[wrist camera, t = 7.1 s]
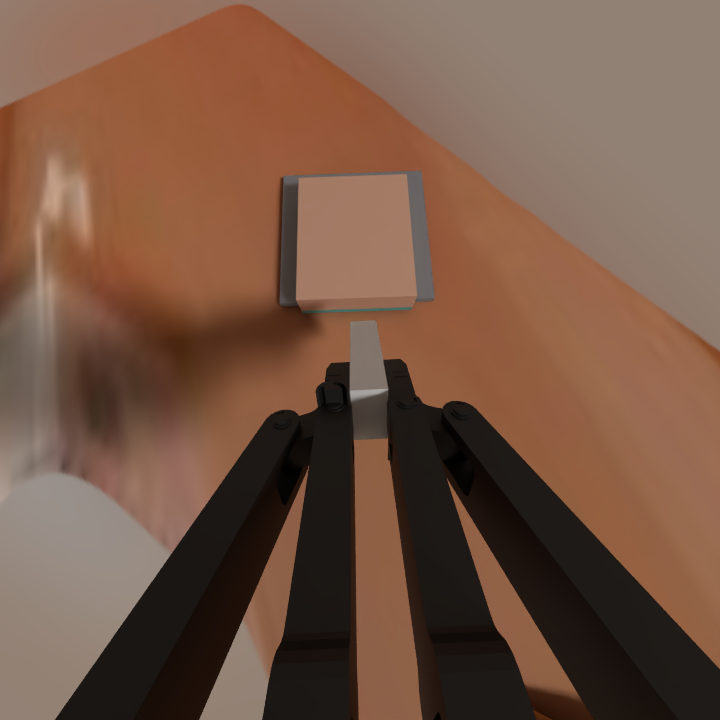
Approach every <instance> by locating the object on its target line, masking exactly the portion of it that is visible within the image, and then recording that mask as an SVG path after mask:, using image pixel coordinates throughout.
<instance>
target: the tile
mask: <svg viewBox="0 0 720 720" xmlns="http://www.w3.org/2000/svg"><path fill="white" fill-rule="evenodd" d="M416 298H417V288H416V276H415V265H414V253H413V241H412V229H411V218H410V206H409V194H408V182H407V174H395V175H366V176H337V177H308V178H299V186H298V232H297V278H296V301H297V303H298V305H299V307H300V308H301V310H302V312H303V313H323V312H353V311H383V310H411V309H412V307H413V305H414V302H415V300H416Z"/></svg>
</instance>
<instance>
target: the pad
mask: <svg viewBox="0 0 720 720" xmlns="http://www.w3.org/2000/svg"><path fill="white" fill-rule="evenodd" d="M395 174H407V182H408V194H409V206H410V218H411V229H412V241H413V253H414V265H415V276H416V288H417V298H416V300H415V302H421V301H433V300H434V298H435V297H434V287H433V278H432V268H431V259H430V249H429V239H428V230H427V220H426V211H425V201H424V191H423V182H422V172H421V171H401V172H375V173H348V174H321V175H294V176H284V181H283V212H282V243H281V274H280V305H281V307H285V306H299V305H298V303H297V301H296V278H297V232H298V186H299V178H308V177H337V176H366V175H395Z"/></svg>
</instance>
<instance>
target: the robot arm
mask: <svg viewBox="0 0 720 720" xmlns="http://www.w3.org/2000/svg"><path fill="white" fill-rule="evenodd" d="M316 397H317V403H318V408H317V409H316V410H314V411H312V412H310V413H307V414H304V415H301V416H298V414H297V413H296V412H295V411H291V410H281V411H277V412H275V413H273V414H271V415H270V416H269V417H268V418H267V419H266V420H265V422H264V423H263V424H262V426H261V427H260V429H259V430H258V432H257V433H256V434H255V436H254V437H253V439H252V440H251V442H250V443H249V444H248V446H247V447H246V449H245V450H244V452H243V453H242V454H241V456H240V457H239V459H238V460H237V461H236V463H235V464H234V466H233V467H232V469H231V470H230V471H229V473H228V474H227V476H226V477H225V479H224V480H223V481H222V483H221V484H220V486H219V487H218V489H217V490H216V491H215V493H214V494H213V496H212V497H211V499H210V500H209V501H208V503H207V504H206V506H205V507H204V508H203V510H202V511H201V513H200V514H199V516H198V517H197V518H196V520H195V521H194V523H193V524H192V526H191V527H190V528H189V530H188V531H187V533H186V534H185V536H184V537H183V538H182V540H181V541H180V543H179V544H178V545H177V547H176V548H175V550H174V551H173V553H172V554H171V555H170V557H169V558H168V560H167V561H166V563H165V564H164V565H163V567H162V568H161V570H160V571H159V573H158V574H157V575H156V577H155V578H154V580H153V581H152V582H151V584H150V585H149V587H148V588H147V590H146V591H145V592H144V594H143V595H142V597H141V598H140V600H139V601H138V603H137V604H136V605H135V607H134V608H133V610H132V611H131V613H130V614H129V615H128V617H127V618H126V619H125V621H124V622H123V624H122V625H121V627H120V628H119V629H118V631H117V632H116V634H115V635H114V637H113V638H112V639H111V641H110V642H109V644H108V645H107V647H106V648H105V649H104V651H103V652H102V654H101V655H100V657H99V658H98V659H97V661H96V662H95V664H94V665H93V666H92V668H91V669H90V671H89V672H88V674H87V675H86V676H85V678H84V679H83V681H82V682H81V684H80V685H79V687H78V688H77V689H76V691H75V692H74V694H73V695H72V696H71V698H70V699H69V701H68V702H67V703H66V705H65V706H64V708H63V709H62V711H61V712H60V714H59V715H58V716H57V718H56V719H55V720H199V719H200V716H201V714H202V712H203V709H204V707H205V705H206V703H207V700H208V698H209V696H210V693H211V691H212V689H213V686H214V684H215V682H216V679H217V677H218V675H219V673H220V670H221V668H222V666H223V663H224V661H225V659H226V656H227V654H228V652H229V649H230V647H231V645H232V642H233V640H234V638H235V635H236V633H237V631H238V629H239V626H240V624H241V622H242V619H243V617H244V615H245V613H246V610H247V608H248V606H249V603H250V601H251V599H252V596H253V594H254V592H255V590H256V587H257V585H258V583H259V580H260V578H261V576H262V573H263V571H264V569H265V566H266V564H267V562H268V560H269V557H270V555H271V553H272V550H273V548H274V546H275V543H276V541H277V539H278V536H279V534H280V532H281V530H282V527H283V525H284V523H285V520H286V518H287V516H288V513H289V511H290V509H291V506H292V504H293V502H294V500H295V497H296V495H297V493H298V490H299V488H300V486H301V483H302V481H303V479H304V476H305V474H306V472H307V470H308V466H309V470H308V477H307V484H306V490H305V497H304V503H303V510H302V517H301V523H300V530H299V537H298V543H297V550H296V556H295V563H294V570H293V576H292V583H291V589H290V596H289V603H288V609H287V616H286V622H285V628H284V634H283V638H282V641H281V643H280V645H279V647H278V649H277V651H276V653H275V657H274V660H273V663H272V668H271V673H270V678H269V683H268V689H267V695H266V701H265V707H264V714H263V719H262V720H359V718H358V683H357V636H356V553H355V469H354V440H361V439H383V438H387V434H388V460H390V465H391V472H392V480H393V487H394V495H395V502H396V509H397V517H398V524H399V531H400V539H401V546H402V554H403V561H404V568H405V576H406V583H407V590H408V598H409V605H410V612H411V620H412V627H413V635H414V642H415V649H416V657H417V665H418V678H419V693H420V703H421V711H422V719H423V720H536V717H535V714H534V711H533V708H532V705H531V702H530V699H529V697H528V694H527V691H526V688H525V685H524V682H523V679H522V676H521V673H520V670H519V668H518V665H517V663H516V660H515V658H514V655H513V653H512V651H511V649H510V647H509V645H508V643H507V641H506V640H505V639H504V638H503V637H502V635H501V634H500V633H499V632H498V631H497V629H496V627H495V625H494V623H493V620H492V617H491V614H490V611H489V608H488V605H487V602H486V599H485V596H484V593H483V590H482V587H481V583H480V580H479V577H478V574H477V571H476V568H475V565H474V562H473V559H472V556H471V552H470V549H469V546H468V543H467V540H466V537H465V534H464V531H463V528H462V525H461V521H460V518H459V515H458V512H457V509H456V506H455V503H454V500H453V497H452V494H451V491H450V487H449V484H448V481H449V482H450V484H451V486H452V487H453V489H454V490H455V492H456V494H457V495H458V497H459V499H460V500H461V502H462V504H463V505H464V507H465V509H466V510H467V512H468V513H469V515H470V517H471V518H472V520H473V522H474V523H475V525H476V527H477V528H478V530H479V532H480V533H481V535H482V537H483V538H484V540H485V541H486V543H487V545H488V546H489V548H490V550H491V551H492V553H493V555H494V556H495V558H496V560H497V561H498V563H499V564H500V566H501V568H502V569H503V571H504V573H505V574H506V576H507V578H508V579H509V581H510V583H511V584H512V586H513V587H514V589H515V591H516V592H517V594H518V596H519V597H520V599H521V601H522V602H523V604H524V606H525V607H526V609H527V611H528V612H529V614H530V615H531V617H532V619H533V620H534V622H535V624H536V625H537V627H538V629H539V630H540V632H541V634H542V635H543V637H544V638H545V640H546V642H547V643H548V645H549V647H550V648H551V650H552V652H553V653H554V655H555V657H556V658H557V660H558V662H559V663H560V665H561V666H562V668H563V670H564V671H565V673H566V675H567V676H568V678H569V680H570V681H571V683H572V685H573V686H574V688H575V689H576V691H577V693H578V694H579V696H580V698H581V699H582V701H583V703H584V704H585V706H586V708H587V709H588V711H589V712H590V714H591V716H592V717H593V719H594V720H720V669H719V668H718V667H717V666H716V665H715V664H714V663H713V662H712V660H711V659H710V658H709V657H708V656H707V655H706V654H705V653H704V652H703V651H702V650H701V649H700V648H699V647H698V646H697V644H696V643H695V642H694V641H693V640H692V639H691V638H690V637H689V636H688V635H687V634H686V633H685V632H684V631H683V629H682V628H681V627H680V626H679V625H678V624H677V623H676V622H675V621H674V620H673V619H672V618H671V617H670V616H669V615H668V613H667V612H666V611H665V610H664V609H663V608H662V607H661V606H660V605H659V604H658V603H657V602H656V601H655V600H654V599H653V597H652V596H651V595H650V594H649V593H648V592H647V591H646V590H645V589H644V588H643V587H642V586H641V585H640V584H639V582H638V581H637V580H636V579H635V578H634V577H633V576H632V575H631V574H630V573H629V572H628V571H627V570H626V569H625V568H624V566H623V565H622V564H621V563H620V562H619V561H618V560H617V559H616V558H615V557H614V556H613V555H612V554H611V553H610V552H609V550H608V549H607V548H606V547H605V546H604V545H603V544H602V543H601V542H600V541H599V540H598V539H597V538H596V537H595V535H594V534H593V533H592V532H591V531H590V530H589V529H588V528H587V527H586V526H585V525H584V524H583V523H582V522H581V521H580V519H579V518H578V517H577V516H576V515H575V514H574V513H573V512H572V511H571V510H570V509H569V508H568V507H567V506H566V505H565V503H564V502H563V501H562V500H561V499H560V498H559V497H558V496H557V495H556V494H555V493H554V492H553V491H552V490H551V488H550V487H549V486H548V485H547V484H546V483H545V482H544V481H543V480H542V479H541V478H540V477H539V476H538V475H537V474H536V472H535V471H534V470H533V469H532V468H531V467H530V466H529V465H528V464H527V463H526V462H525V461H524V460H523V459H522V458H521V456H520V455H519V454H518V453H517V452H516V451H515V450H514V449H513V448H512V447H511V446H510V445H509V444H508V443H507V441H506V440H505V439H504V438H503V437H502V436H501V435H500V434H499V433H498V432H497V431H496V430H495V429H494V428H493V427H492V425H491V424H490V423H489V422H488V421H487V420H486V419H485V418H484V417H483V416H482V415H481V414H480V413H479V412H478V411H477V409H476V408H474V407H473V406H472V405H470V404H468V403H465V402H461V401H451V402H448V403H446V404H445V405H444V406H443V409H442V408H436V407H431V406H428V405H426V404H423V403H422V401H421V400H420V398H419V397H417V396H416V394H415V391H414V388H413V385H412V381H411V378H410V375H409V372H408V368H407V365H406V364H405V363H404V362H403V361H402V360H401V359H391V360H383V357H382V352H381V346H380V341H379V335H378V329H377V324H376V320H373V321H352V322H350V362H343V363H331V364H330V365H329V367H328V368H327V370H326V377H325V382H323V383H321V384H320V385H319V386H318V387H317V389H316ZM446 477H447V478H446ZM447 479H448V481H447Z"/></svg>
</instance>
